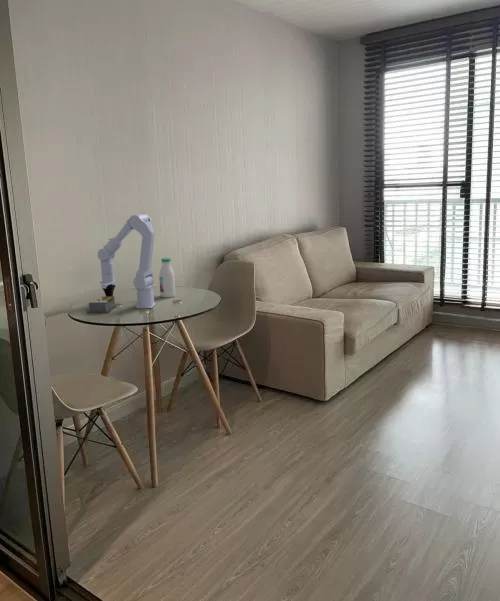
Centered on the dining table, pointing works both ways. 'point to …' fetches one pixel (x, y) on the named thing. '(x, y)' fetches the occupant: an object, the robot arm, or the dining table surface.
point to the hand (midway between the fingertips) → (109, 299)
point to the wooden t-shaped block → (108, 298)
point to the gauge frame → (101, 306)
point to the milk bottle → (166, 279)
